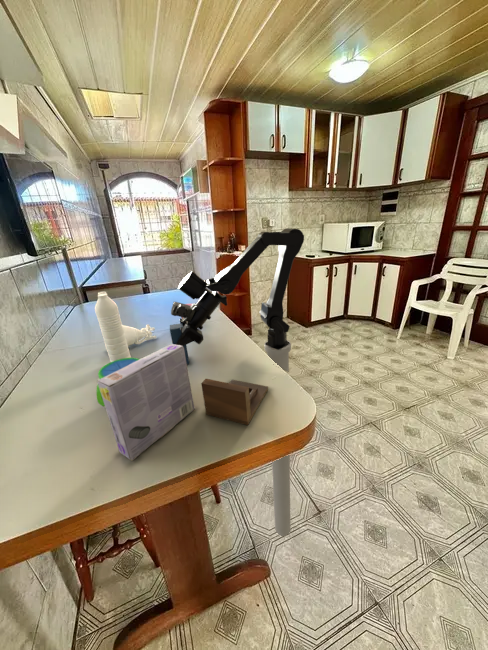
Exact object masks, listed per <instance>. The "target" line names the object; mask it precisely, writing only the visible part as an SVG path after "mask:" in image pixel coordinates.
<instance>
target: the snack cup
mask: <svg viewBox="0 0 488 650" xmlns="http://www.w3.org/2000/svg"><path fill="white" fill-rule="evenodd" d="M140 359H141V358H137V357H131V358H123V359H118V360H115V361H112V362H110V361H109V362H108V363H106V364H105V365H103V366H102V367H100V369H99V371H98V373H97V375H98V380H99V379H101V378H103V377H105V376H108V375H110V374H112V373H114V372H116V371H118V370H120V369H122V368H124V367H126V366H128V365H130V364H132V363H134V362H136V361H138V360H140ZM95 393H96V400H97V403H98V404H99V405H100V406H102V407H104V408H105V405H104V401H103V398H102V395H101V392H100V389H99V386H98V384H97V385H96V392H95Z"/></svg>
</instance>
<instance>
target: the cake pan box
mask: <svg viewBox="0 0 488 650" xmlns="http://www.w3.org/2000/svg"><path fill="white" fill-rule="evenodd" d="M139 359H140V360H138V361H136V362H134V363H132V364H130V365H128V366H126V367H124V368H122V369H120V370H118V371H116V372H114V373H112V374H110V375H108V376H105V377H103V378H101V379H99V378H98V380H97V381H96V383H97V385H98V386H99V389H100V392H101V395H102V398H103V401H104V405H105V407H104V408H105V411H106V415H107V417H108V420H109V423H110V426H111V430H112V433H113V436H114V439H115V442H116V445H117V448H118V451H119V453H120V454H121V455H123V456H124V457H126V458H127V459H128V460H130V461H131V462H132V461H135V460H136V459H137V458H138V456H140V455H141V454H142V453H144V452H145V451H146V450H147V449H148V448H150V447H151V446H152V445H153V444H154V443H156V442H157V441H158V440H161V439H162V438H163V437H164V436H165V435H166V434H167V433H169V432H170V431H171V430H172V429H174V428H175V426H176V425H177V424H179V423H180V422H181V421H183V419H185V418H186V417H188V416H189V414H191V413H192V412H194V411H195V409H196V408H195V404H194V397H193V392H192V386H191V381H190V376H189V370H188V364H187V363H186V357H185V351H184V347H183V346H181V345H175V344H172V343H170V344H168V345H166V346H164V347H162V348H160V349H158V350H156V351H154V352H152V353H150V354H148V355H146V356H144V357H141V358H139Z"/></svg>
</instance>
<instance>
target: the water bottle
mask: <svg viewBox="0 0 488 650" xmlns="http://www.w3.org/2000/svg"><path fill="white" fill-rule="evenodd" d="M94 312H95V315H96V318H97V321H98V325H99V328H100V331H101V335H102V338H103V343H104V346H106V347H105V350H106V349H107V350H106V352H107V355H108V358H109V363H110V362H112V361H115V360H118V359H123V358H132V355H131V353H130V352H131V351H130V349H129V346H128V345H127V340H126V337H125V334H124V329H123V326H122V325H123V322H122V318H121V315H120V311H119V307H118V305H117V303H116V302H115V301H114V300H113V299H112V298H111V297H110V296H109V295H108V293H107V291H106V290H105V291H98V292H97V301H96V303H95V305H94Z"/></svg>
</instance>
